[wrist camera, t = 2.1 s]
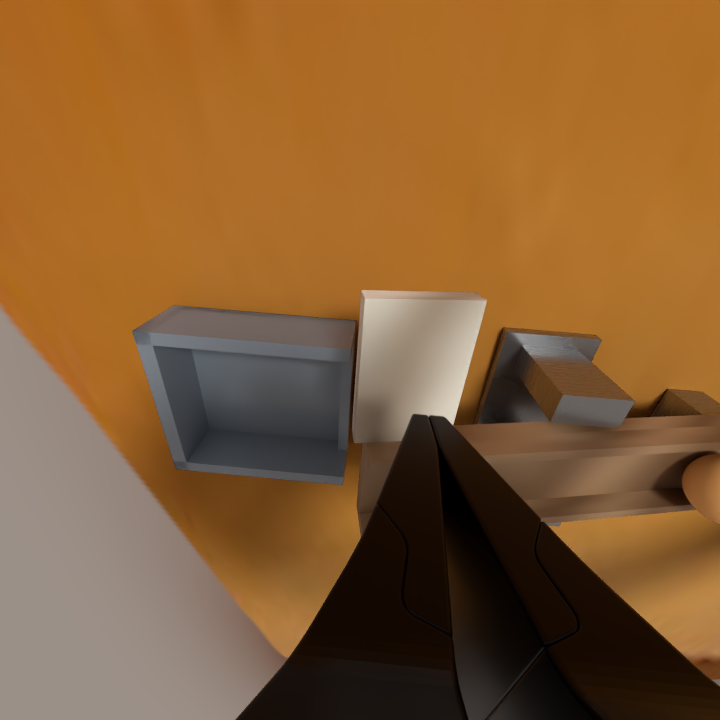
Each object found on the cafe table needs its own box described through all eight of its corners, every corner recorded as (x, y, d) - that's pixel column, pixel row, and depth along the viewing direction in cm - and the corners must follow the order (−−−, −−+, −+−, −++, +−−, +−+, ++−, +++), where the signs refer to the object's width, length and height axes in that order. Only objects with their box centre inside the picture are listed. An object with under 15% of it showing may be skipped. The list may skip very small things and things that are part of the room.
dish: (356, 320, 18) (350, 349, 15) (348, 443, 23) (343, 485, 20) (173, 305, 18) (132, 330, 15) (203, 430, 23) (175, 469, 20)
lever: (810, 292, 14) (981, 333, 11) (674, 466, 20) (756, 532, 16) (357, 280, 11) (379, 332, 8) (344, 488, 17) (353, 576, 13)
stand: (735, 346, 17) (858, 405, 13) (642, 473, 22) (708, 548, 18) (367, 316, 18) (362, 363, 13) (357, 447, 23) (350, 514, 18)
